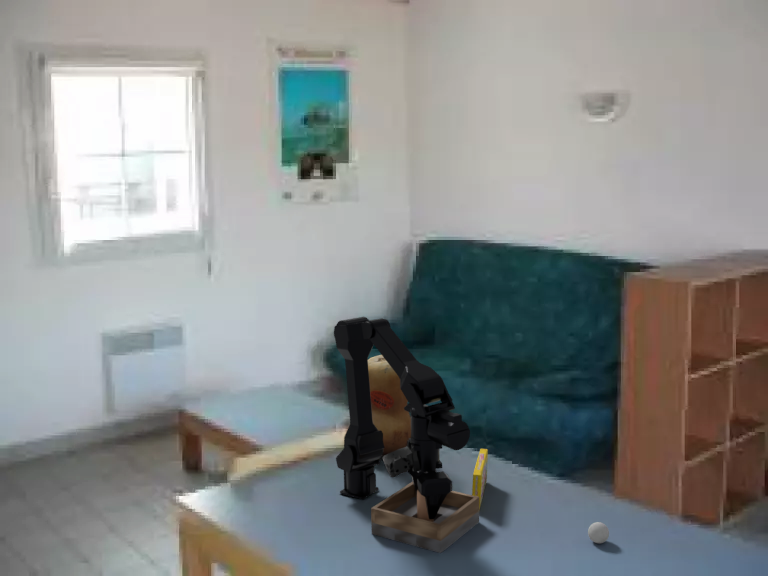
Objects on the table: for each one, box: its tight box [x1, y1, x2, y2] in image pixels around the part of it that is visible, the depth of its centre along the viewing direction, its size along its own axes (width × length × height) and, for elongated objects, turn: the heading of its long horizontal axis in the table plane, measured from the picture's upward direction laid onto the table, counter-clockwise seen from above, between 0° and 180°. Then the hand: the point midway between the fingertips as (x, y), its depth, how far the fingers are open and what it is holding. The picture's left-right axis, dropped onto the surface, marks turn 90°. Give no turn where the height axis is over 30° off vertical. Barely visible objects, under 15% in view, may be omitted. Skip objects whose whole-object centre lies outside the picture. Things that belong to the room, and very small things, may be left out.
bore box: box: [370, 481, 480, 554], centre depth 185 cm, size 16×16×6 cm
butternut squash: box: [368, 354, 411, 457], centre depth 225 cm, size 14×13×25 cm
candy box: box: [471, 448, 489, 511], centre depth 200 cm, size 16×2×8 cm, turn 168°
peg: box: [417, 490, 434, 522], centre depth 185 cm, size 3×3×8 cm
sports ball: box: [587, 521, 610, 544], centre depth 178 cm, size 4×4×4 cm
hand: (425, 509), depth 185 cm, fingers open, 9 cm apart
